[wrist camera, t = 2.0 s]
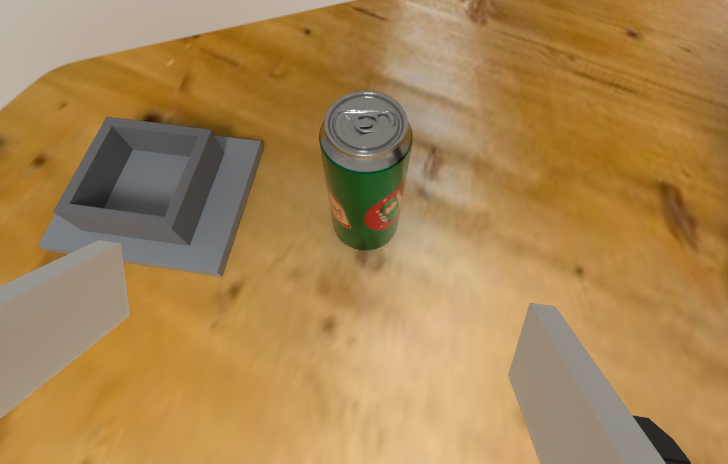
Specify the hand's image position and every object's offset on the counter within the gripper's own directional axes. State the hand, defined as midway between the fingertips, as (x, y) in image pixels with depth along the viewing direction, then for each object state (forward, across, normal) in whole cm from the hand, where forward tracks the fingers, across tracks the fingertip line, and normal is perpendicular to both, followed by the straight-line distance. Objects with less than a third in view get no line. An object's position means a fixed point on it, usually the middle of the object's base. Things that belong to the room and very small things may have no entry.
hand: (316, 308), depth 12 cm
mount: (+18, -17, -3) cm, 25 cm away
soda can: (+18, 0, -3) cm, 19 cm away
